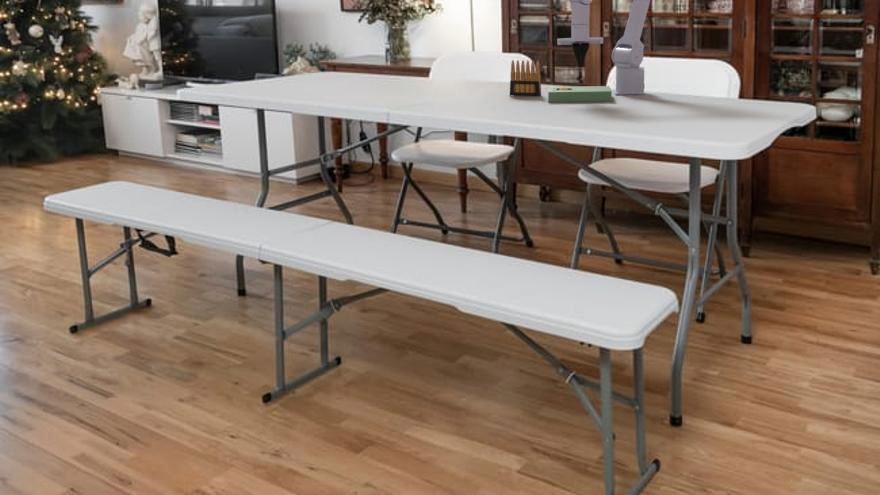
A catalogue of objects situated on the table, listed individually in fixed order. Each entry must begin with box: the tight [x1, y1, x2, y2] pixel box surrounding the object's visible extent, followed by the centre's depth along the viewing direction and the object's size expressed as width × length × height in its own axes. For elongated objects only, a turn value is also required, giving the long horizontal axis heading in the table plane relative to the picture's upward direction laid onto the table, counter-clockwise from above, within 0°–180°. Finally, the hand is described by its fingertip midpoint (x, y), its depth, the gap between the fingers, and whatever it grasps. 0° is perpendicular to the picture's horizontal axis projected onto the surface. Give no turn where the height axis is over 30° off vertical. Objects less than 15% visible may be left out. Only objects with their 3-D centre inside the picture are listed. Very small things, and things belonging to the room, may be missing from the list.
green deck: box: [547, 85, 613, 103], centre depth 325 cm, size 20×14×3 cm
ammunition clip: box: [509, 59, 542, 97], centre depth 336 cm, size 11×2×12 cm, turn 67°
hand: (580, 67), depth 323 cm, fingers closed
